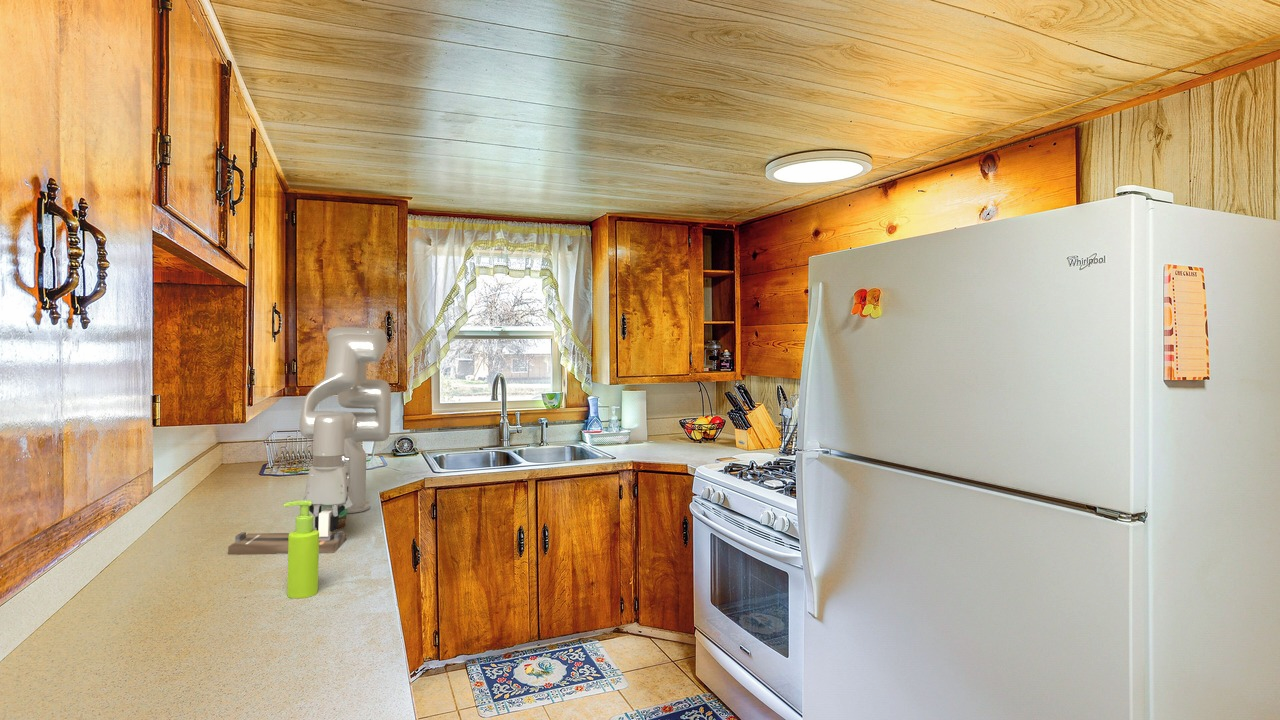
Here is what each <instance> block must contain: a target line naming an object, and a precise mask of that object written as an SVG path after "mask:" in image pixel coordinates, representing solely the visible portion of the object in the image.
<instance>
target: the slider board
mask: <svg viewBox="0 0 1280 720" xmlns="http://www.w3.org/2000/svg"><path fill="white" fill-rule="evenodd" d="M289 533H290V532H278V533H277V532H276V533H275V532H272V533H271V532H267V533H266V532H265V533H262V532H260V533H255V532H254V533H247V532H246V531H243V532H240V533H238V534H236V535H235V536H234V537H235V541H234V542H233V543H232V544H230V545H229V546H228V548H227V550H228V552H227V555H228V554H237V555H278V554H277V553H288V540H289ZM346 540H347V532H345V531H343V530H338V531H337V532H336V531H335V535H334V537H333V538H332V539H331V540H330V541H319V554H334V553H335V552H336V551H337V550H338V549H339V548H340V547H341V546H342V545H343V544H344V543H345V541H346Z"/></svg>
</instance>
